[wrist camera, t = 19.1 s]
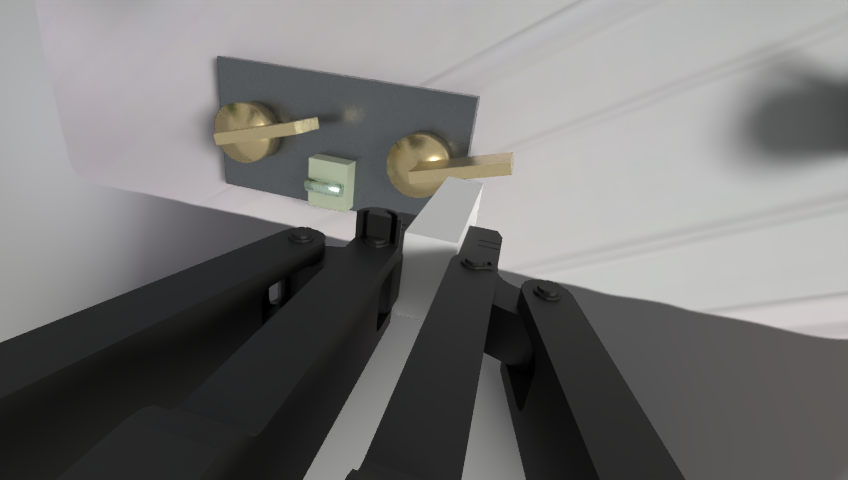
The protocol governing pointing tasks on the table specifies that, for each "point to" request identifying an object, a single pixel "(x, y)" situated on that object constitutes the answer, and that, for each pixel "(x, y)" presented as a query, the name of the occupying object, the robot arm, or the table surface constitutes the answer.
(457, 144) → the level plate
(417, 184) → the near knob
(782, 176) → the table surface
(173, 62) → the table surface
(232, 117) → the far knob
